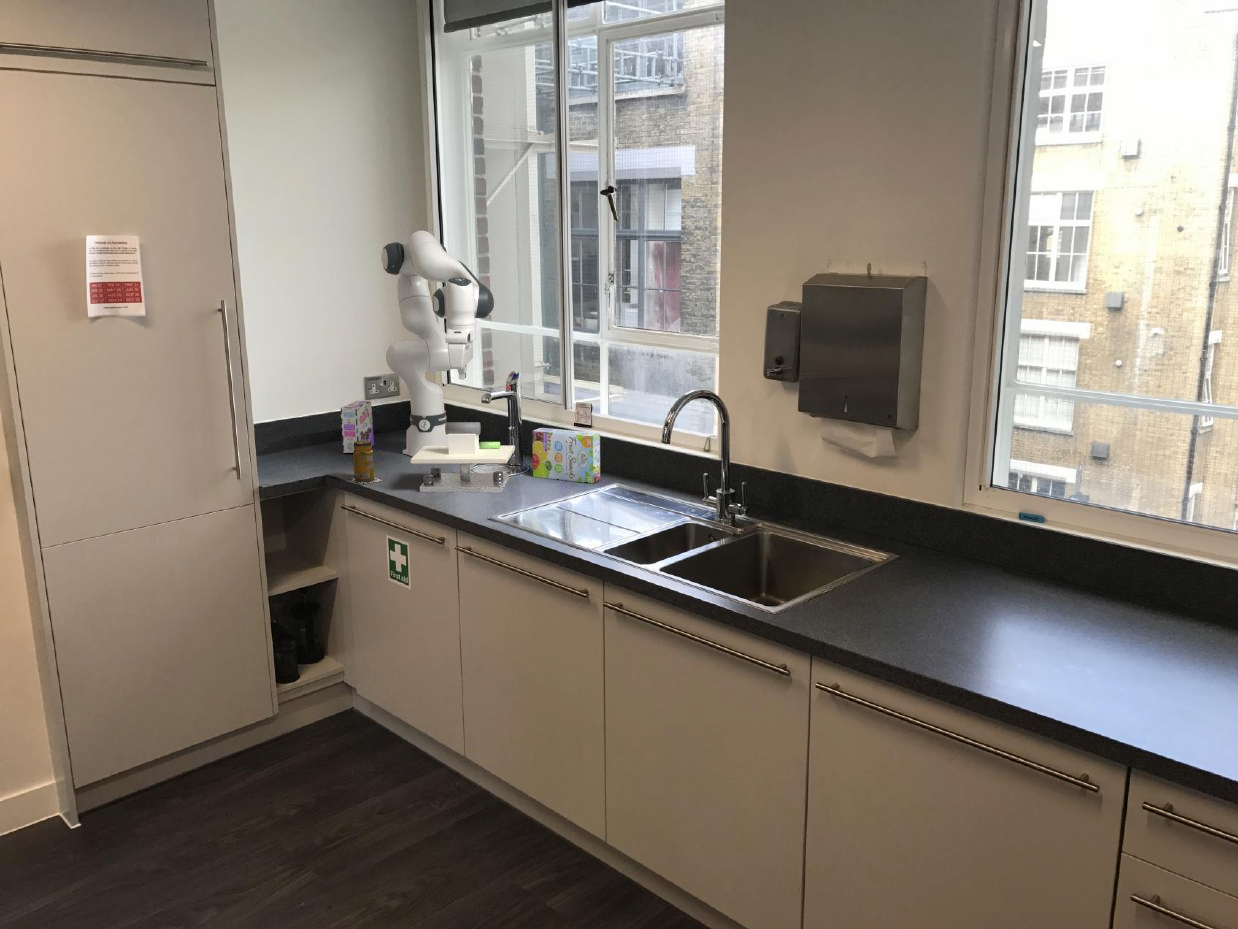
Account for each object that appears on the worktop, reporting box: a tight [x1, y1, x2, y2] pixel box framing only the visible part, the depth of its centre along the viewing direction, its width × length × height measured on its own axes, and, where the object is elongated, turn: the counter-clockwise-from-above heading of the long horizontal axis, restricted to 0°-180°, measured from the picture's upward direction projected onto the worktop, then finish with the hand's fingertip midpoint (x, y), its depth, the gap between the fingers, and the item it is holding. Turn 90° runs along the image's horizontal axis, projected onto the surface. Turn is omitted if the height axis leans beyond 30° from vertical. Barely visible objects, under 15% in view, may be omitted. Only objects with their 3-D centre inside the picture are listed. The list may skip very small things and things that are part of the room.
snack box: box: [531, 427, 601, 484], centre depth 310 cm, size 21×6×15 cm, turn 65°
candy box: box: [340, 400, 375, 453], centre depth 349 cm, size 14×6×16 cm, turn 171°
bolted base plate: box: [419, 463, 510, 493], centre depth 304 cm, size 24×16×8 cm, turn 88°
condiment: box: [350, 441, 383, 485], centre depth 309 cm, size 7×8×12 cm
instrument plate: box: [410, 421, 516, 464], centre depth 301 cm, size 28×18×10 cm, turn 88°
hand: (462, 378), depth 305 cm, fingers closed
